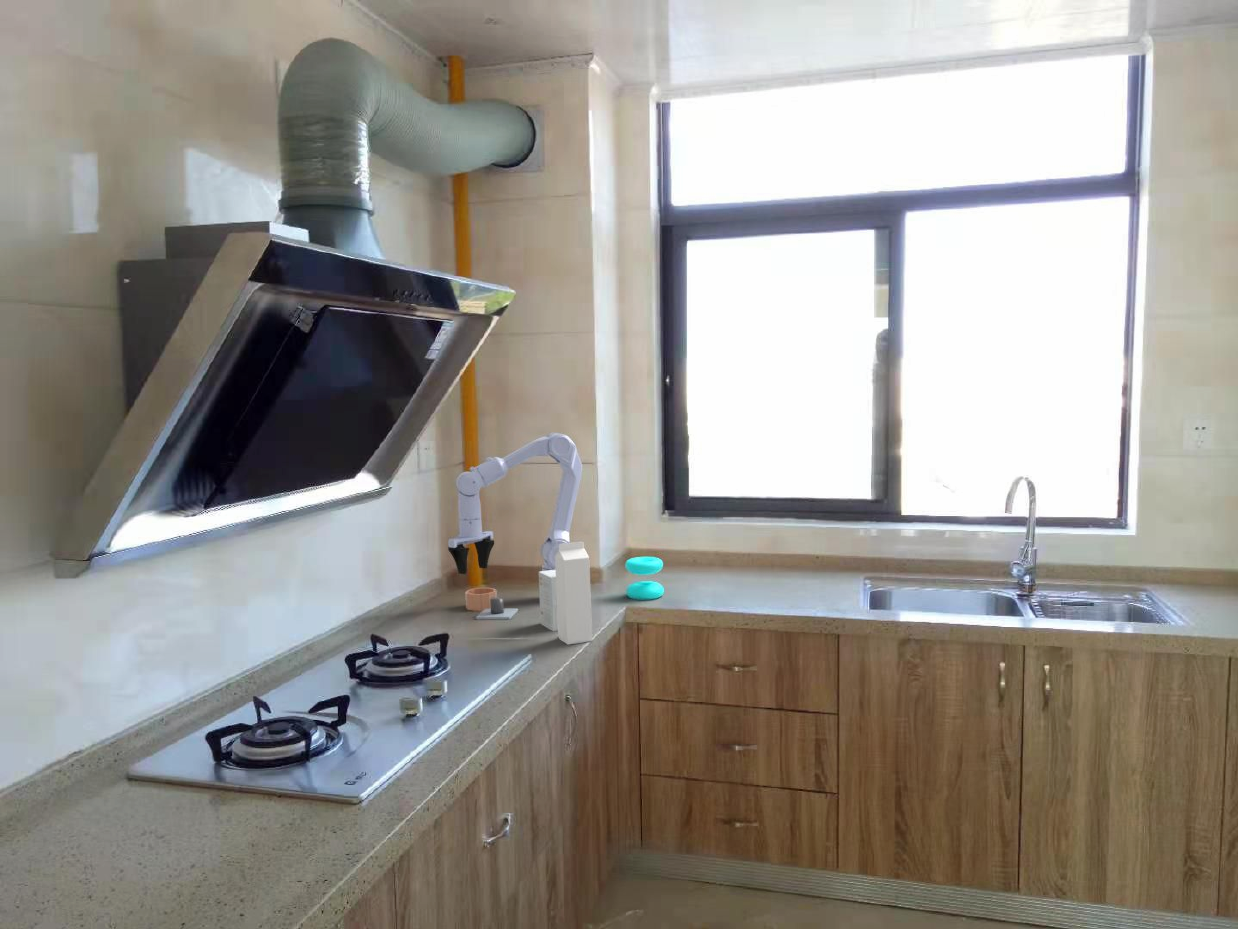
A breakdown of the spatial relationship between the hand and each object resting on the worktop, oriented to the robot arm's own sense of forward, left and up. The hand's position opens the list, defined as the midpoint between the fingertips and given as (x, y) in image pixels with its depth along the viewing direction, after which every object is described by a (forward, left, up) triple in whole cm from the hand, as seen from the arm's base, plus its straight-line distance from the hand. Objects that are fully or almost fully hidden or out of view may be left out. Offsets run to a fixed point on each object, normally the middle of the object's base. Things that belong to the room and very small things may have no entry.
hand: (472, 570), depth 245 cm
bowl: (-2, +1, -10) cm, 10 cm away
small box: (-26, +19, -10) cm, 34 cm away
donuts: (-43, -12, -10) cm, 46 cm away
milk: (-32, +30, -10) cm, 45 cm away
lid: (-9, +9, -9) cm, 16 cm away
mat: (-9, +9, -10) cm, 16 cm away
